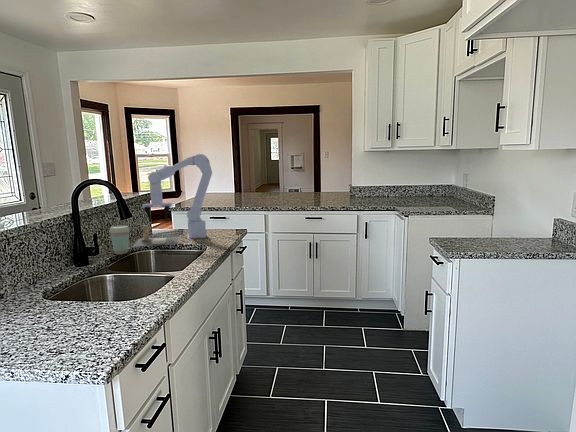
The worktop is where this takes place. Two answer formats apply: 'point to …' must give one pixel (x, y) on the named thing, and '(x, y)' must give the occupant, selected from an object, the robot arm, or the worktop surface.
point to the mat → (169, 242)
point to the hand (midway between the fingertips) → (158, 220)
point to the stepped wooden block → (146, 234)
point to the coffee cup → (120, 238)
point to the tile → (159, 241)
